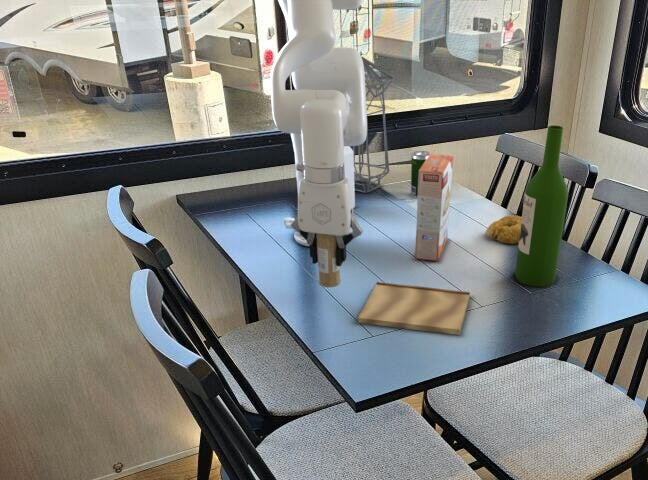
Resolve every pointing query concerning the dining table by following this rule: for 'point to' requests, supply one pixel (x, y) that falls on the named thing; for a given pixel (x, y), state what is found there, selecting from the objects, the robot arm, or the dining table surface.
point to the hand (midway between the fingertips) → (328, 261)
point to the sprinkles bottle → (327, 260)
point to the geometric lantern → (392, 78)
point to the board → (415, 308)
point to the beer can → (417, 169)
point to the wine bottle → (543, 218)
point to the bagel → (505, 229)
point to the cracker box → (433, 206)
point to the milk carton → (349, 170)
